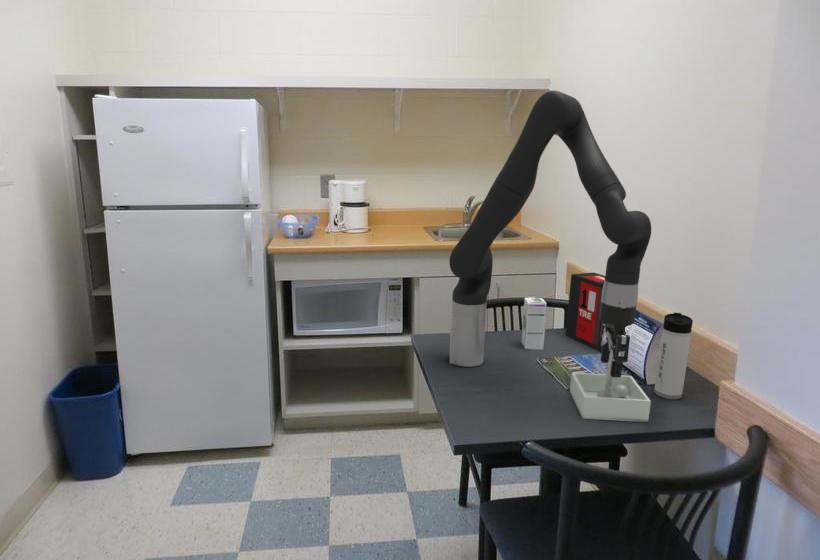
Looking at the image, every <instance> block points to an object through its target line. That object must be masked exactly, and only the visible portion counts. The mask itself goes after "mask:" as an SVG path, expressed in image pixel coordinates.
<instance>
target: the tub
mask: <svg viewBox="0 0 820 560" xmlns="http://www.w3.org/2000/svg"><path fill="white" fill-rule="evenodd" d="M606 374H607V373H606ZM606 374H605V373H604V374H603V373H584V372H571V377H570V385H569V394H570V395H571V397H572V399H573V402H574V404H575V406H576V409H577V410H578V412H579V413H580V417H581V418H582V419H583V420H584V419H587V420H603V421H604V420H605V421H619V422H635V423H637V422H638V423H649V417H650V410H651V403H652V401H651V400H650V398H649V396H648V395H647V394H646V393H645V391H644V390H643V389H642V388H641V387H640V385H639V384H638V382H637V381H636V380H635V379H634V377H633V376H632V375H623V374H621V377H619V378H617V377H614V378H613V379H614V380H613V381H614V383H613V385H612V386H613V390H612V391H613V392H615V388H616V387H617V386H618V385H624V386H626V387H627V389H628V394H627V396H625V397H623V398H621V397H619V398H605V397H598V396H597V392H599V391H601V390H604V389H605V384H606V383H605V382H606V380H605V379H606V376H607V375H606Z"/></svg>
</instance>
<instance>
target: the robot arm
mask: <svg viewBox="0 0 820 560" xmlns="http://www.w3.org/2000/svg"><path fill="white" fill-rule="evenodd" d="M554 136H558V137H559V139H561V141H562V142H563V143H564V144H565V145H566V147H567V148H568V150H569V151H570V153H571V154H572V156H573V160H574V162H575V166H576V170H577V173H578V177H579V180H580V183H581V184H582V186H583V188H584V190H585V191H586V194H587V195H588V196H589V198H590V200H591V201H592V203H593V205H594V206H595V208H596V209H595V210H596V213H597V217H598V219H599V223H600V225H601V229H602V232H603V233H604V235H605V236H606V238H607V239H608V240H609V241H611V243H613V244H615V245H616V246H617V247H616V250H615V251H614V253H613V254H611V255H610V256H608V258H607V260H606V267H605V268H606V269H605V275H604V276H605V281H604V285H603V289H602V297H601V306H600V314H599V319H600V320H601V321H602V326H601V333H600V341H602V342H601V346H603V347H602V353H601V352H600V353H601V355H600V362H601V363H603V364H608V363H607V362H608V360H609V355H610V352H611V353H612V363H611V371H610V375H611V377H617V378H619V377H621V375H622V372H623V371H622V370H623V363H627V362H628V360H629V349H630V341H631V337H630V335H629V334H627V335H626V332H625V327H626V326H628V327H629V326H632V325H634V323H635V321H636V314H637V307H638V299H639V282H640V281H639V280H640V274H641V265H642V262H643V260H644V257H645V255H646V251H647V249H648V246H649V243H650V240H651V236H652V223H651V219H650V217H649V216H648V215H647V213H645V212H643V211H641V210H629V211H628V209H627V208H626V206H625V203H624V200H625V199H626V196H627V193H626V192H627V191H626V190H625V188H624V186H623V184H622V182H621V180H620V179H619V178H618V176H617V174H616V173H615V172H614V170H613V168H612V166H611V165H610V163H609V162H608V160H607V159H606V156H605V155H604V154H603V152H602V149H601V148H600V146H599V144H598V142H597V140H596V138H595V136H594V134H593V132H592V129H591V127H590V124H589V122H588V120H587V116H586V114H585V111H584V108H583V106H582V104H581V103H580V101H579V100H578V99H577V98H575V97H573V96H572V95H569V94H566V93H564V92H561V91H558V90H548V91H546V92H544V93H543V94H542V95H541V96H539V98H538V99H537V100H536V102H535V103H534V105H533V106H532V109H531V111H530V112H529V115H528V117H527V120H526V122H525V124H524V126H523V128H522V131H521V133H520V135H519V137H518V140H517V141H516V142H515V145H514V147H513V148H512V150H511V152H510V154H509V155H508V157H507V160H506V161H505V162H504V165H503V166H502V168H501V170H500V171H499V173H498V174H497V176H496V178H495V180H494V182H492V185H491V187H490V189H488V190H489V191H488V192H487V195H485V196H486V197H485V198H484V199H483V201H482V203H481V205H480V207H479V208H478V211H477V213H476V214H475V216H474V218H473V220H472V222H471V224H470V225H469V226H468V228H467V230H466V231H465V232H464V233H463V236H462V237H461V238H460V239H459V241H458V242H457V244H456V245H455V247H454V248H453V250H452V251H451V253H450V256H449V268H450V271H451V272H452V274H453V275H454V276H455V277H457V278H458V281H457V285H456V286H455V287H454V289H453V291H452V299H451V300H452V301H451V302H452V304H451V324H450V335H449V336H450V337H449V340H450V341H449V357H448V358H449V359H448V360H449V361H448V363H449V364H450V365H455V366H460V367H469V368H472V367H473V368H474V367H478V366H480V365H482V364H483V362H484V351H485V349H484V348H485V336H486V335H485V334H486V317H487V303H488V296H489V292H490V289H491V284H492V273H493V264H494V262H493V261H494V260H493V253H492V251H491V246H492V244H493V242H494V241H495V239H496V238H497V237H498V236H499V235H500V234H501V233H502V232H503V231H504V230H505V228H507V226H508V225H509V224H510V223H511V222H512V221H513V220H514V219H515V217H517V215H518V214H519V212H521V210H522V208H523V207H524V205H525V204H526V203H527V201H528V199H529V197H530V195H531V194H532V192H533V190H534V187H535V185H536V181H537V175H538V169H539V163H540V160H541V157H542V155H543V153H544V151H545V150H546V148H547V146H548V145H549V143H550V142H551V140H552V139H553V137H554ZM614 346H615V347H614Z"/></svg>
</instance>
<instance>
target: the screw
mask: <svg viewBox="0 0 820 560" xmlns="http://www.w3.org/2000/svg"><path fill="white" fill-rule="evenodd" d="M611 363H612V353H611V352H610V355H609V360H608V362H607V363H606V372H605V373H606V375H607V376H606V379H605V380H606V382H605V383H606V384H605V389H604V390H601V391H599V392H597V396H598V397H605V398H619V396H618V395H617V394H616V393H615V392H613V391H612V390H613V386H612V385H613V383H614V381H613V380H614V379H613V378H614V377H611V375H610V371H611Z"/></svg>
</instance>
